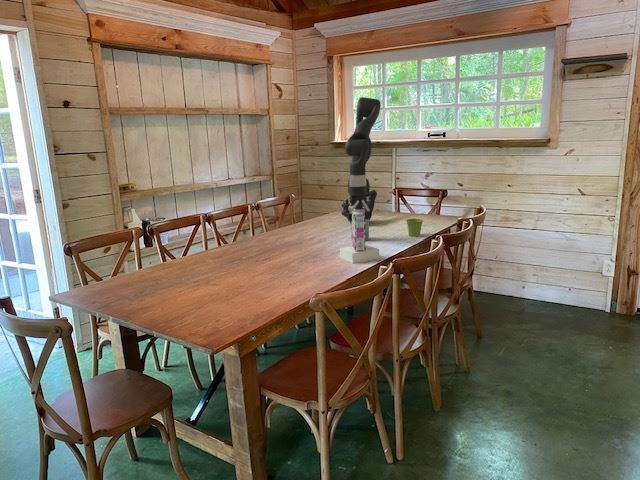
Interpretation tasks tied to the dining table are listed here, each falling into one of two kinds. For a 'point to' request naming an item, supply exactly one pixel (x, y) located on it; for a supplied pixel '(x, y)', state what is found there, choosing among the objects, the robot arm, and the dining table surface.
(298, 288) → the dining table surface
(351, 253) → the grey block
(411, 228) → the plant pot
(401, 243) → the dining table surface
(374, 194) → the decorative plant
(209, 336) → the dining table surface
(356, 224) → the candy bar box
